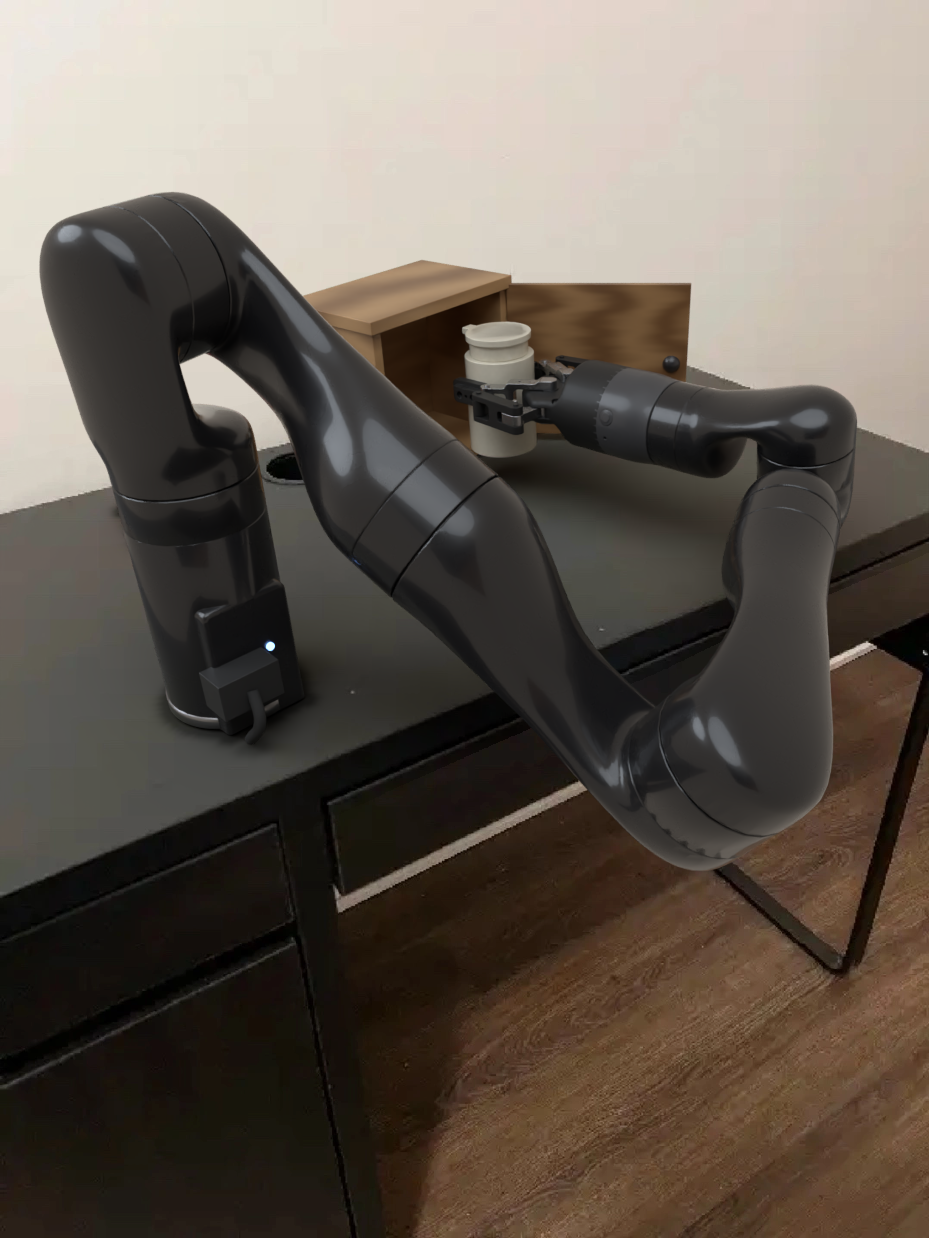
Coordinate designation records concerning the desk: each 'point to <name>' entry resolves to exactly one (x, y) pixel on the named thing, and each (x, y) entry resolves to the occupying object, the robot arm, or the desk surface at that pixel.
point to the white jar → (499, 381)
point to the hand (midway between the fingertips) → (482, 377)
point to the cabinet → (459, 296)
